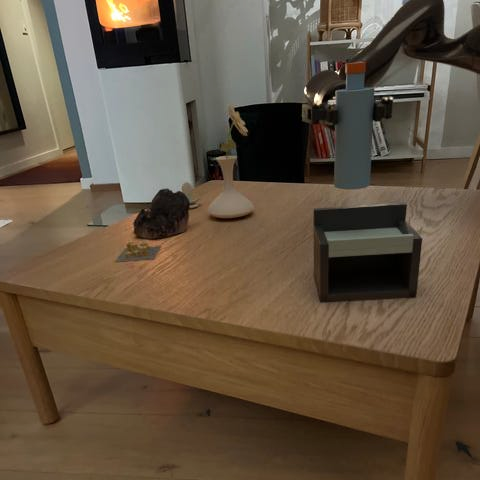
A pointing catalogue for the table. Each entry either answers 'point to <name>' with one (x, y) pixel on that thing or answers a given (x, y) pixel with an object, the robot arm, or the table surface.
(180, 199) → the dark brown rock
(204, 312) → the table surface
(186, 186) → the pacifier
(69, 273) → the table surface
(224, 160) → the flower in vase
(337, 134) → the plastic bottle
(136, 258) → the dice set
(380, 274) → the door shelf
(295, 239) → the table surface
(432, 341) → the table surface
